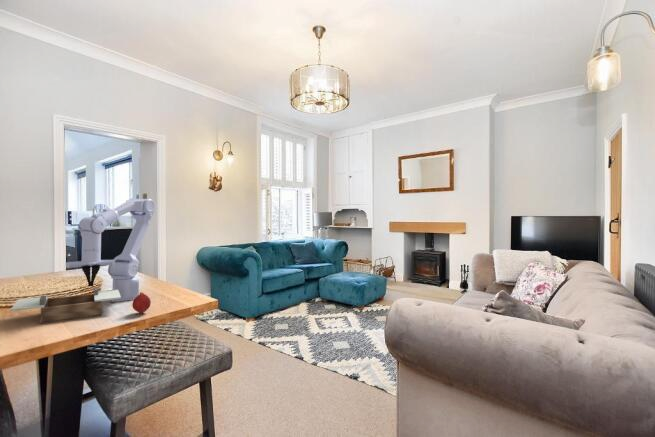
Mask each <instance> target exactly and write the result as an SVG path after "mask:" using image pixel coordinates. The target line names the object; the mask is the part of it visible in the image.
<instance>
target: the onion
mask: <svg viewBox="0 0 655 437" xmlns="http://www.w3.org/2000/svg"><path fill="white" fill-rule="evenodd" d="M151 304H152V302H151V298H150V297H149V296H148V295H147V294H145V293H144V292H143V291H139V295H138V296H137V297H136V298H135V299H134V300H132V304H131V307H132V309H133V310H134V311H136V312H137V313H138V314H141V315H142V314H145V312H147V311H148V310H149V308H150V306H151Z"/></svg>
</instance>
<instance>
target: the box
mask: <svg viewBox="0 0 655 437" xmlns="http://www.w3.org/2000/svg"><path fill="white" fill-rule="evenodd" d="M99 316H100V317H101V316H102V301H97V302H95V300H94V293H89V294H79V295H70V296H69V295H68V296H59V297H52V298H51V297H50V298H49V297H48V299H47V301H46V304H45V306H44V308H40V324H48V323H49V324H50V323H56V322H62V321H63V322H65V321H70V320H71V321H72V320H76V319H77V320H78V319H85V318H93V317H99Z"/></svg>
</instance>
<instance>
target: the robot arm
mask: <svg viewBox="0 0 655 437" xmlns="http://www.w3.org/2000/svg"><path fill="white" fill-rule="evenodd" d="M156 209H157V207H156V204H155V202H154V200H153V199H152V198H133V197H132V198H129V199H126V201H125V202H124V203H121V204H120V205H118V206H117V207H115V208H113V209H112V208H107V207H106V208H103V209H102V211H100V212H98V213H94V214H92V216H91V217H90V216H87V217H83V218H82V219H80V221H79V223H78V224H77V229H78V230H79V232H80V236H81V260H78V261H67V262H65V268H66V269H72V268H81V270H82V272H83V274H84V275H85V277H86V280H87V285H88V287H94V283H95V280H96V277H97V275H98V273H99V271H100V269H101V267H102V266H103V267H104V266H107V273H108V275H109V276H110V279H112V289H111V290H117V289H118V290H119V293H120V296H121V299H114V300H110V301H111V303H116V302H125V301H134V299H135V298H136V297H137V296H138V295H140V280H139V276H136V275H137V274H138V271H139V265H140V261H139V260H138V258H137V256H138V252H139V250H140V248H141V246H142V244H143V242H144V239H145V236H146V235H147V232H148V230H149V227H150V225H151V222H152V218H153V216H154V213H155V212H156ZM128 213H130V215H131V216H132V218H133V219H134V220H135V223H134V226H133V228H132V230H131V232H130V234H129V237H128V239H127V240H126V243H125V245H124V248H123V250H122V251H121V253H120V254H119V255H117V256H115V257H114V258H113V259H101V258H102V257H101V254H102V233H103V232H104V231H105V230H106V228H107V227H109V226H110V225H112V224H114V223H115V222H117V221H118V220H119V217H121V216H123V215H126V214H128Z"/></svg>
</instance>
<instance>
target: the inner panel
mask: <svg viewBox="0 0 655 437" xmlns="http://www.w3.org/2000/svg"><path fill="white" fill-rule="evenodd" d="M93 294H94V300H95V302H97V301H101V302H102V301H103V302H104V301H111V300H114V299H121V296H120V293H119V290H118V289H117V290H112V289H108V290H100V291H99V287H98V286H93Z"/></svg>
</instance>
